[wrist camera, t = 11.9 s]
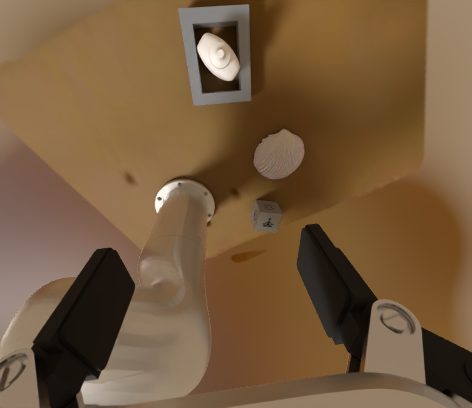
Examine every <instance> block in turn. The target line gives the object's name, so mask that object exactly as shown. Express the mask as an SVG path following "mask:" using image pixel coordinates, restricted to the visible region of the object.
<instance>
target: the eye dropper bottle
mask: <svg viewBox="0 0 472 408" xmlns="http://www.w3.org/2000/svg"><path fill="white" fill-rule="evenodd" d="M197 50H198V53H199V55H200V57H201V59H202V61H203V63H204V64H205V66H206V67H207V68H208V69H209V70H210V71H211V72H212V73H213V74H214V75H215V76H217V77H218V78H220V79H222V80H225V81H232V80H233V79H234V78H235V76H236V75H237V73H238V72H239V70H240V64H239V61H238V59H237V57H236V55H235V53H234V52H233V50H232V49H231V47H230V46H229V45H228V44H227V43H226V42H225V41H224V40H222V39H221V38H219V37H218V36H216V35H213V34H211V33H205V34H204V35H203V36H202V38H201V40H200V42H199V44H198V46H197Z"/></svg>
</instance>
